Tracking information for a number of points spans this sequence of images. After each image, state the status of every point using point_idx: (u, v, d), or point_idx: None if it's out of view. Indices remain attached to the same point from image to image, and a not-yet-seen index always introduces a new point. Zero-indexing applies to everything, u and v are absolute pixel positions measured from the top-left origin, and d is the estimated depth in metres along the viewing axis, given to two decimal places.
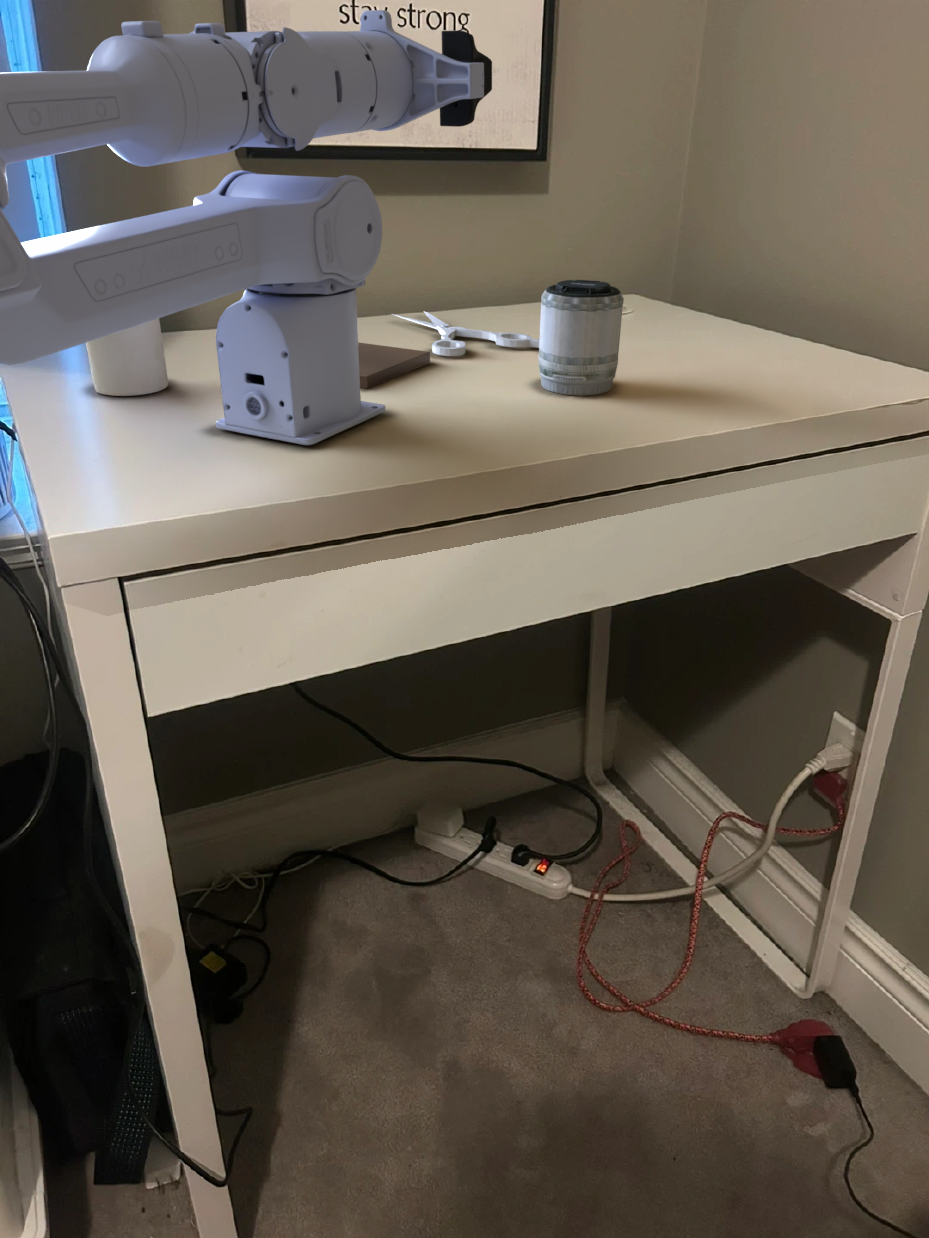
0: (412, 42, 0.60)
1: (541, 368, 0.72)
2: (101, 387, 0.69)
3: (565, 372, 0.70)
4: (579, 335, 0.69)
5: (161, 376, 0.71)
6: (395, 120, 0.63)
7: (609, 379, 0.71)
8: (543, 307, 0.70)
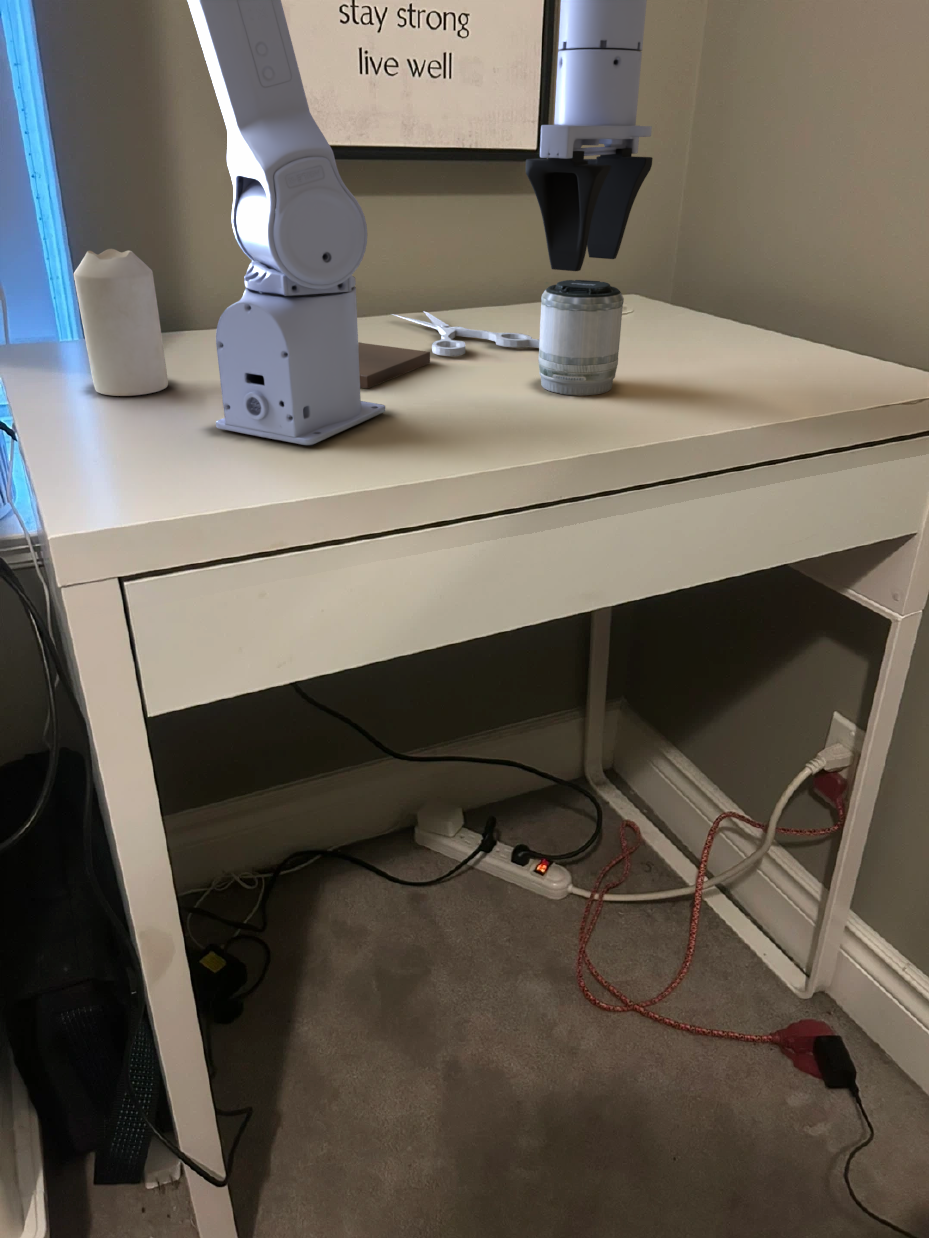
0: (610, 128, 0.62)
1: (541, 368, 0.72)
2: (101, 387, 0.69)
3: (565, 372, 0.70)
4: (579, 335, 0.69)
5: (161, 376, 0.71)
6: (555, 117, 0.64)
7: (609, 379, 0.71)
8: (543, 307, 0.70)
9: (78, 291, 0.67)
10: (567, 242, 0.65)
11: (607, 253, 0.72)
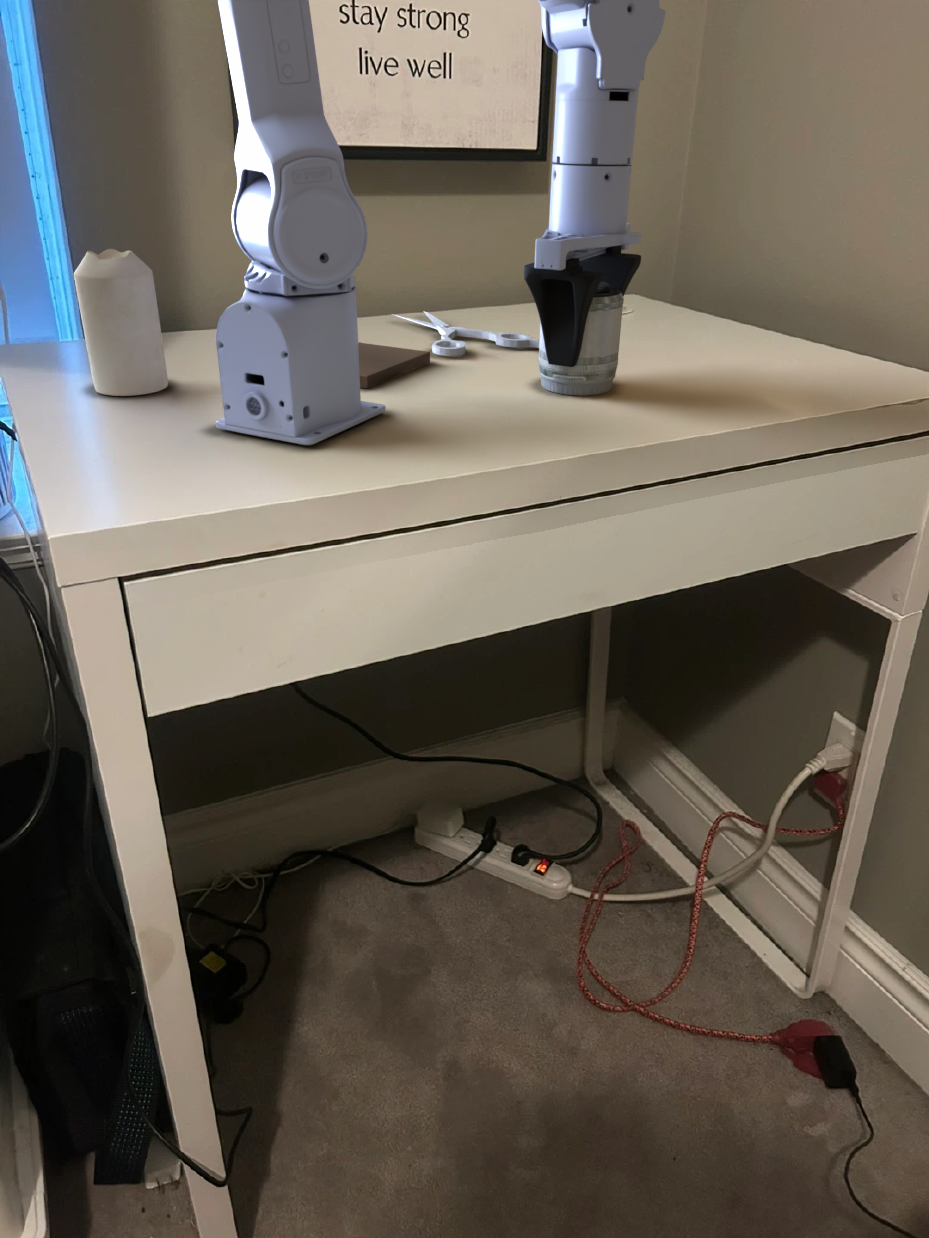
0: (601, 237, 0.65)
1: (541, 368, 0.72)
2: (101, 387, 0.69)
3: (565, 372, 0.70)
4: None
5: (161, 376, 0.71)
6: (550, 224, 0.68)
7: (609, 379, 0.71)
8: None
9: (78, 291, 0.67)
10: (563, 340, 0.68)
11: None
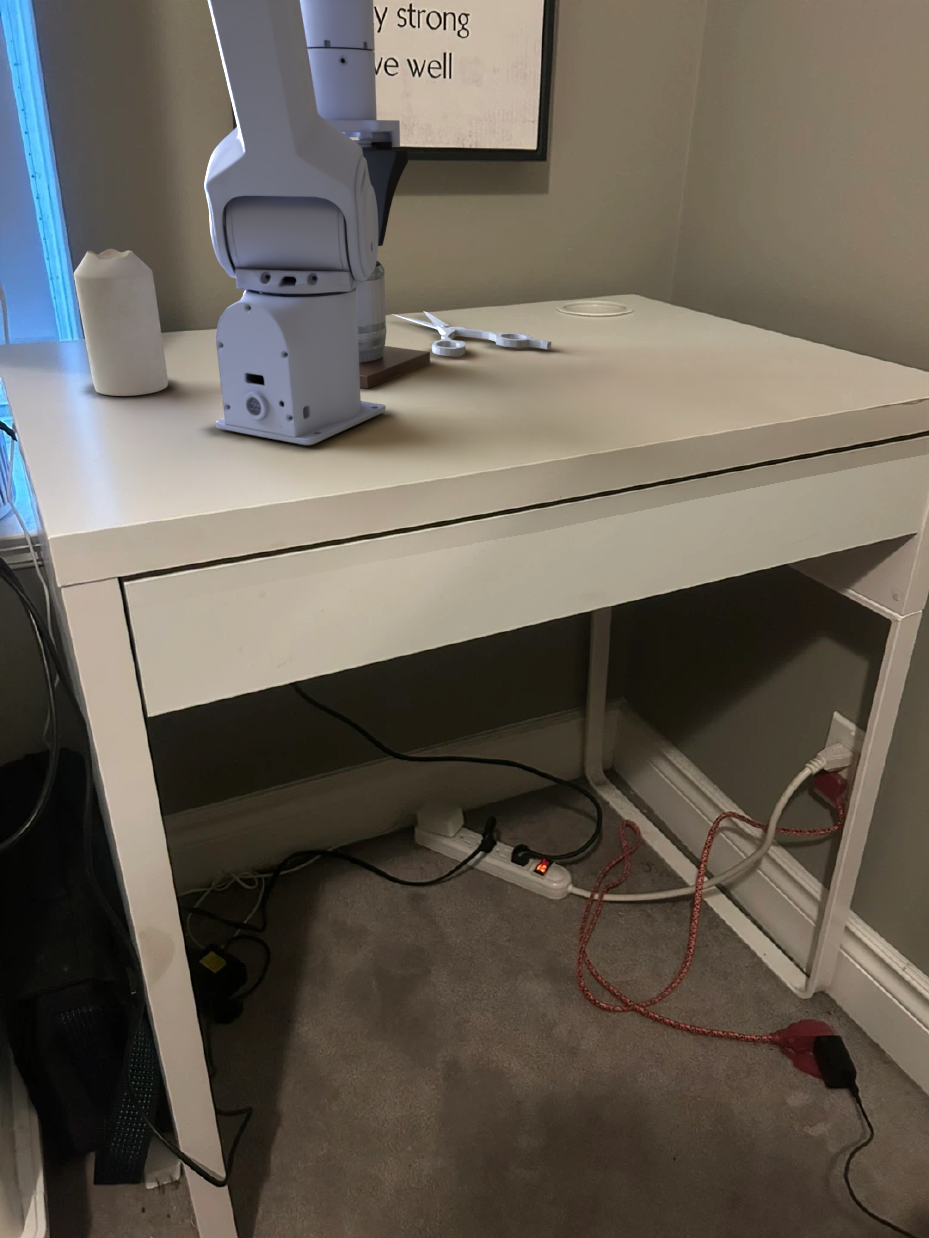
0: (341, 121, 0.66)
1: None
2: (101, 387, 0.69)
3: None
4: None
5: (161, 376, 0.71)
6: None
7: (374, 348, 0.76)
8: None
9: (78, 291, 0.67)
10: None
11: None
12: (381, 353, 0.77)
